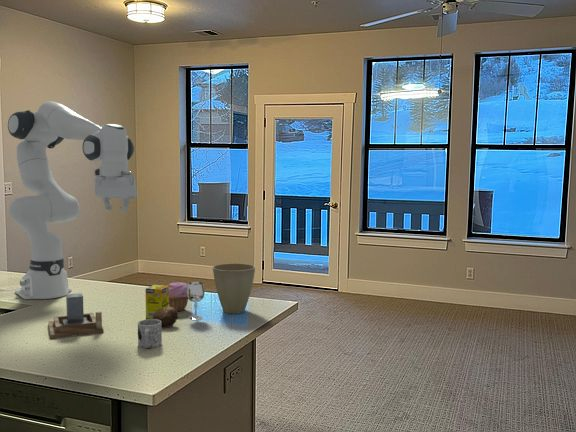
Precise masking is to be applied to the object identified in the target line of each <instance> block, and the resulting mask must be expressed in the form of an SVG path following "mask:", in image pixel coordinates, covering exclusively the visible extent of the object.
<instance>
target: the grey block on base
mask: <svg viewBox="0 0 576 432" xmlns="http://www.w3.org/2000/svg"><path fill="white" fill-rule="evenodd" d="M65 298H66V299H65V301H66V306H65V307H66V315H67V319H64V320H63V325H68V324H77V323H86V322H88V321H87V319H86V317H84V314H85V313H84V295H83V293H82V292H79V293H68V294H66V295H65Z"/></svg>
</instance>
